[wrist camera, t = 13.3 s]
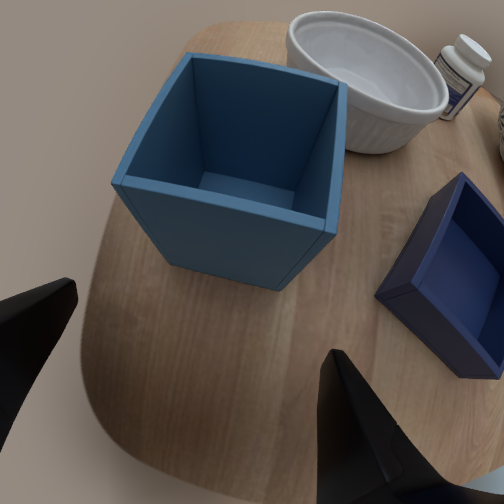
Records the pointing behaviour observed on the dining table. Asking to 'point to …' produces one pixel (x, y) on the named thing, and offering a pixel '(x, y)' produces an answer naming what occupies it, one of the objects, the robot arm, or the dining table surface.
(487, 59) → the pill bottle
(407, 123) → the ramekin
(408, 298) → the navy bin
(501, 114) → the bowl
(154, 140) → the blue bin
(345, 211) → the dining table surface
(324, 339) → the dining table surface
